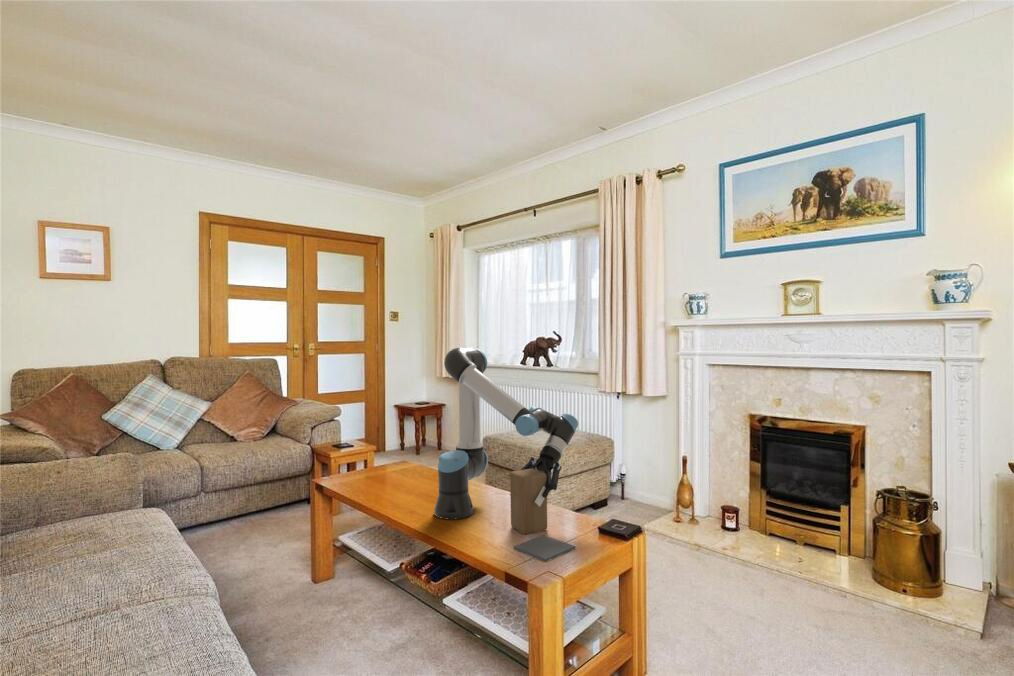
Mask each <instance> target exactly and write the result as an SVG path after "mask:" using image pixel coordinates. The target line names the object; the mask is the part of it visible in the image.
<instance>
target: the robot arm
mask: <svg viewBox="0 0 1014 676" xmlns="http://www.w3.org/2000/svg"><path fill="white" fill-rule="evenodd" d="M486 356H487V355H485V353H484V352H483V351H482V350H481V349H479V348H475V347H456V348H452V349H451V350H449V351H448V352H447V354H445V357H444V363H443V364H444V368H445V371H446V373H447V374H448V375H449V377H451V378H452V379H454V380H455V382H456V383H457V384H458V405H459V406H458V410H459V411H458V413H459V414H458V416H459V417H458V418H459V420H458V421H459V424H458V425H459V427H458V428H459V431H458V433H459V436H458V437H459V442H458V443H457V444H456V445H455V450H450V451H446V452H443V453H442V454H440V455H439V457H438V463H437V468H438V469H437V470H438V474H437V475H438V496H437V499H436V503H435V507H434V510H433V511H434V515H435V514H436V515H437V516H439V517H442V518H448V519H447V520H456V519H455V518H462V519H465V518H464V517H466V518H468V517H467V516H469V517H471V516H472V515H473V514H474V505H473V502H472V499H471V496H470V493H469V482H470V481H471V480H473V479H475V478H478V477H479V476H480V475H482V474H483V473H484V472H485V471H486V470H487V468H488V465H489V457H488V454H487V453H486V451H485V447H484V444H483V442H481V418H480V417H481V412H480V411H481V408H480V407H481V406H480V405H481V404H480V402H481V401H480V398H481V399H482V400H483V401H485V403H487V404H489V406H491V407H492V408H494V410H495V411H497V412H498V413H500V415H502V416H503V417H504V418H505V419H507V420H508V421H509V422H511V424H513V425H514V427H515V430H516V431H517V433H518V434H519V435H520V436H524V437H528V436H533V435H535V434H536V433H539V432H540V431H542V432H544V433H547V434H548V435H549V437H548V438H547V440H546V441H545V443H544V446H542V448H541V450H540V451H539V457H538V458H537V459H536V458H534V457H533V456H532V457H531V458H530V459H529V461H528V462H527V463H526V464H525V465H524V466H523V467H522V468H521V469H520V470H525V469H535V470H537V471H540V472H542V473H545V474H546V478H547V481H546V484H545V486H546V487H545V486H543V488H542V489H541V491H540V493H539V495H538V497H537V498H536V500H535V503H536V505H537V506H538V507H540V506H541V504H542V502H543V500H544V499H545V498H546V497H547V498H548V496H549V494H550V492H551V491H552V490H553V491H556V490H557V489H558V485H559V484H558V482H559V478H560V472H561V470H562V468H563V467H562V465H561V464H560V460H561V458H562V456H563V454H564V452H565V450H566V448H567V447H568V446H569V444H570V442H571V440H572V439H573V437H574V435H575V434H576V431H577V429H578V426H579V421H578V419H577V418H576V417H575V416H574V415H572V414H570V413H562V414H561V415H560V416H558V415H556V414H553V413H551V412H549V411H547V410H545V409H543V408H541V407H538V406H536V405H535V406H534V405H533V406H531V407H529V409H528V408H526V406H525V405H523V404H522V403H520V402H519V401H518V400H516V399H515V398H514V397H513V396H511V395H510V394H509V393H508V392H507V391H505V390H504V389H503V388H501V387H500V386H499V385H498V384H496V383H495V382H494V381H493V380H491V379H490V378H489V377H487V375H485V374H484V372H486V370H487V367H488V359H487V357H486ZM509 493H510V494H509V496H510V497H511V492H509ZM470 515H471V516H470Z"/></svg>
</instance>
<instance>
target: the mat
mask: <svg viewBox="0 0 1014 676" xmlns="http://www.w3.org/2000/svg"><path fill="white" fill-rule="evenodd" d="M574 548H576V545H573V544H570V543H567V542H565V541H562V540H559V539H556V538H553V537H550V536H548V535H544V534H542V535H540V536H537V537H534V538H531V539H529V540H526V541H524V542H521V543H518V544H516V545H513V550H514V551H517V552H520V553H522V554H525V555H527V556H530V557H532V558H535V559H538V560H541V561H543V562H548V560H549V561H550V559H551V560H553V559H555V558H557V556H558V557H560V556H561V554H562V555H564V554H567V553H568V551H569V552H571V551H573V550H572V549H574ZM570 550H571V551H570ZM574 550H575V549H574ZM566 552H567V553H566ZM559 555H560V556H559Z"/></svg>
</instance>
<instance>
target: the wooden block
mask: <svg viewBox="0 0 1014 676" xmlns="http://www.w3.org/2000/svg"><path fill="white" fill-rule="evenodd" d="M509 476H510V477H509V478H510V479H509V481H510V482H509V485H510V486H509V487H510V490H509V491H510V492H509V493H511V496H510V525H511V527H512V528H514V530H516V531H518V532H519V533H521V534H523V535H528V534H534V533H538V532H541V531H546V530H548V496H547V497H546V498H545V499H544V500H543V502H542V504H541V506H540V507H538V506H537V505H536V503H535V500H536V498H537V497H538V495H539V493H540V491H541V489H542V488H543V486H545V484H546V481H547V478H546V474H545V473H542V472H540V471H537V469H536V470H535V469H525V470H521V469H518V470H512V471H510V474H509ZM545 487H546V486H545Z"/></svg>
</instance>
